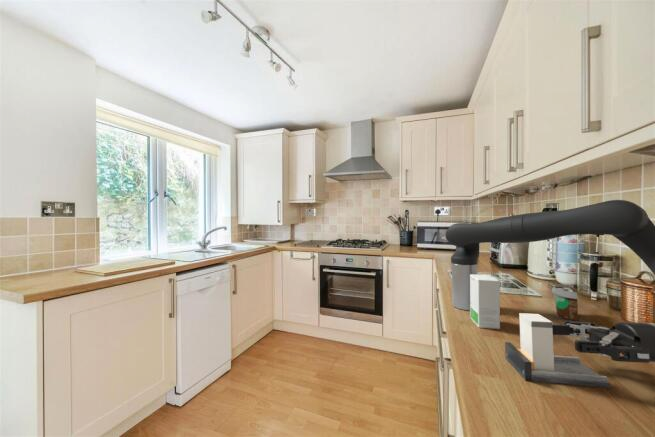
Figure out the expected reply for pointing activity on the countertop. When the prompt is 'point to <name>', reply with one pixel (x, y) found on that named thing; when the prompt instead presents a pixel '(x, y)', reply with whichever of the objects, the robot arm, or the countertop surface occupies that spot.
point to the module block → (537, 340)
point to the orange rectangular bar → (528, 359)
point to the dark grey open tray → (555, 370)
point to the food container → (566, 302)
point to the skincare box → (485, 301)
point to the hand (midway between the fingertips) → (562, 337)
